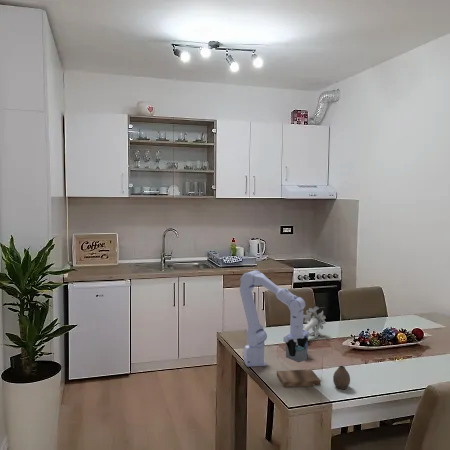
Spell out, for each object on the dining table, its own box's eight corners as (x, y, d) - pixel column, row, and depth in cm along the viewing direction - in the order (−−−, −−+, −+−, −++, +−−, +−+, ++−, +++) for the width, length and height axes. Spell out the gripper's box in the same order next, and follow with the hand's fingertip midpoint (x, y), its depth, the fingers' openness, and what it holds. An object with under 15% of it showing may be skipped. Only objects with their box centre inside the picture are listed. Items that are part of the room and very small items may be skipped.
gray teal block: (298, 362, 196) (298, 351, 196) (285, 357, 203) (285, 346, 202) (306, 360, 199) (306, 349, 199) (293, 354, 206) (293, 344, 205)
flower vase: (305, 356, 241) (328, 334, 258) (307, 327, 234) (330, 307, 251) (285, 346, 249) (308, 326, 266) (286, 318, 242) (310, 299, 259)
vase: (347, 383, 190) (347, 363, 190) (352, 390, 184) (352, 370, 183) (331, 383, 190) (331, 363, 190) (335, 390, 183) (336, 370, 183)
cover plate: (298, 352, 197) (298, 348, 197) (287, 348, 203) (287, 344, 202) (304, 351, 199) (304, 346, 199) (293, 346, 205) (293, 342, 205)
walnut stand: (283, 387, 186) (284, 382, 186) (276, 375, 198) (276, 371, 198) (320, 385, 189) (320, 380, 189) (311, 373, 201) (311, 369, 200)
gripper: (291, 330, 192) (291, 360, 193) (314, 324, 201) (313, 353, 202) (280, 326, 198) (279, 356, 199) (302, 320, 207) (302, 349, 208)
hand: (296, 354), depth 201 cm, fingers closed on gray teal block, 5 cm apart
